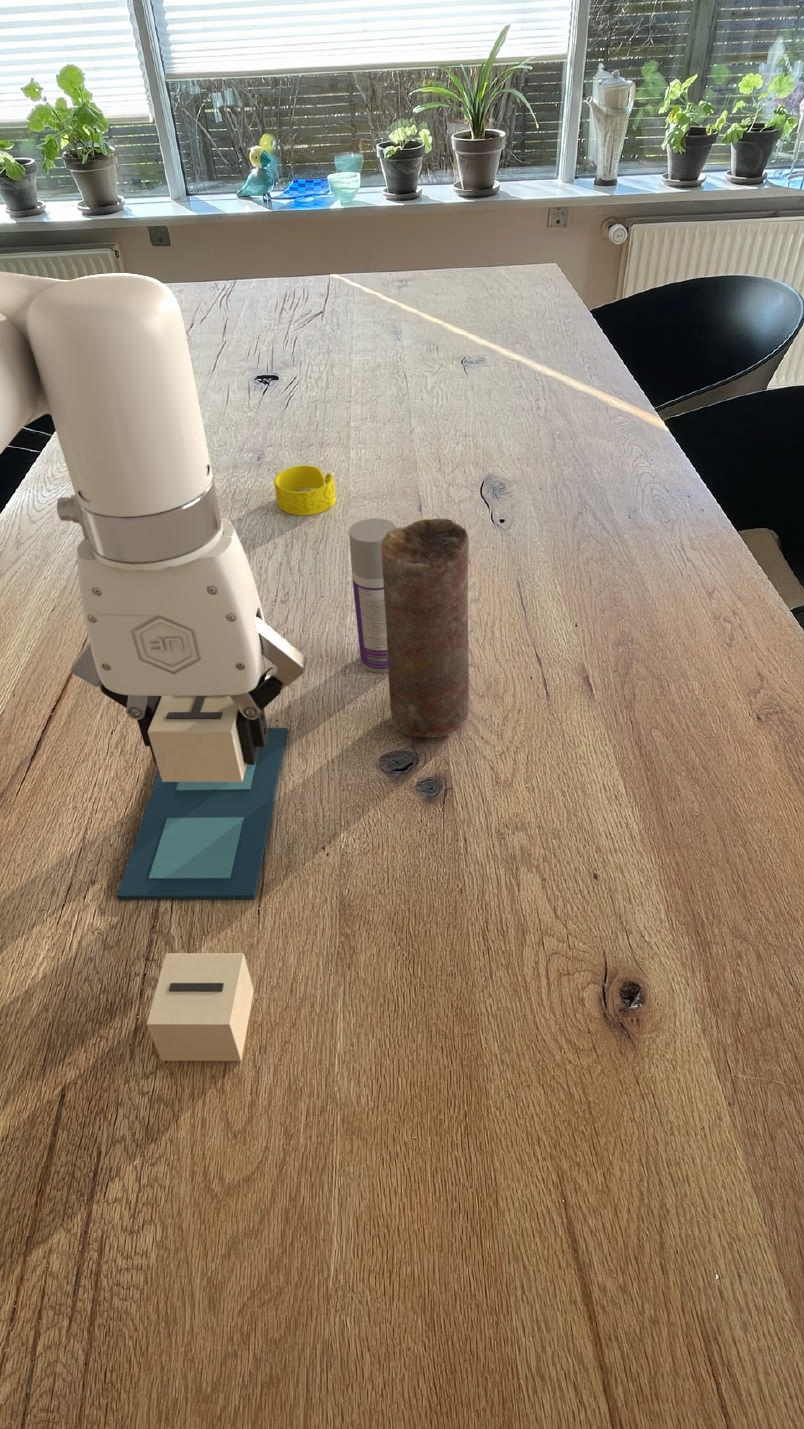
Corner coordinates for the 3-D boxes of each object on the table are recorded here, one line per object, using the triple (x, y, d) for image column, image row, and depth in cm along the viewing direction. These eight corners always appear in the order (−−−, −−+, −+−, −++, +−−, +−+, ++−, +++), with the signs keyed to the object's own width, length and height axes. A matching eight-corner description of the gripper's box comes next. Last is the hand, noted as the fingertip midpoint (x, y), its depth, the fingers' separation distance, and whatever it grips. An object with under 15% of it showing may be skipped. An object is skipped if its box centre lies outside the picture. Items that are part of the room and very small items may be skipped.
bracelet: (306, 521, 121) (302, 498, 119) (265, 503, 125) (261, 480, 123) (347, 499, 125) (344, 476, 123) (305, 482, 129) (302, 460, 127)
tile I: (161, 1060, 64) (145, 1023, 61) (178, 990, 68) (165, 952, 66) (241, 1061, 64) (229, 1023, 61) (254, 990, 68) (243, 952, 65)
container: (366, 644, 100) (354, 516, 90) (410, 647, 99) (402, 518, 89) (355, 671, 96) (342, 541, 87) (401, 675, 95) (392, 544, 86)
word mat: (117, 899, 75) (115, 895, 75) (173, 733, 90) (172, 728, 90) (254, 899, 74) (253, 894, 74) (287, 731, 90) (287, 726, 89)
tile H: (161, 782, 64) (146, 730, 61) (181, 728, 68) (167, 677, 65) (242, 782, 63) (231, 730, 60) (256, 728, 68) (246, 677, 65)
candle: (477, 742, 87) (477, 552, 74) (398, 754, 86) (384, 565, 73) (460, 691, 93) (456, 507, 80) (386, 702, 92) (370, 518, 79)
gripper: (-20, 551, 52) (71, 788, 63) (292, 547, 50) (326, 790, 62) (29, 487, 57) (104, 715, 69) (310, 482, 56) (339, 715, 68)
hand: (209, 748), depth 65 cm, fingers closed on tile H, 5 cm apart
